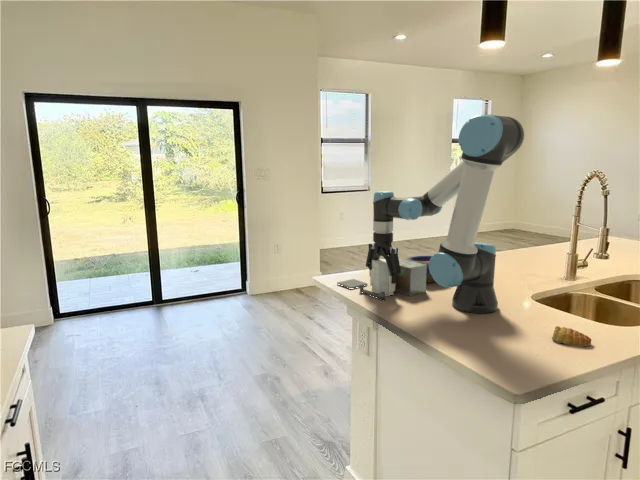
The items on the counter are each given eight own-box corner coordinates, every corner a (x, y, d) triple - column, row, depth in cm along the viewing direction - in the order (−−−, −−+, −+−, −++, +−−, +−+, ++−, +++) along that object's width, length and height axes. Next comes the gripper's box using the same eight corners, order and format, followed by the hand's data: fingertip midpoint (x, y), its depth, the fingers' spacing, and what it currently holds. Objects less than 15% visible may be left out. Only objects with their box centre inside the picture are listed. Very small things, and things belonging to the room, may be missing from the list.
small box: (393, 296, 162) (394, 263, 160) (378, 297, 161) (378, 264, 159) (386, 289, 170) (386, 258, 168) (371, 291, 169) (371, 259, 167)
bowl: (425, 272, 197) (425, 251, 195) (456, 280, 182) (457, 258, 180) (396, 278, 187) (396, 256, 186) (426, 287, 172) (427, 264, 171)
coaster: (367, 285, 176) (367, 283, 176) (350, 289, 171) (350, 287, 171) (353, 281, 184) (353, 278, 183) (337, 284, 178) (337, 282, 178)
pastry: (591, 342, 119) (592, 329, 119) (589, 350, 114) (591, 337, 113) (553, 334, 125) (555, 322, 124) (550, 342, 119) (551, 330, 119)
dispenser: (425, 291, 167) (426, 264, 165) (387, 302, 155) (387, 273, 153) (393, 281, 181) (393, 256, 180) (355, 291, 169) (355, 264, 167)
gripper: (411, 234, 155) (410, 293, 158) (370, 227, 172) (370, 280, 176) (397, 236, 150) (396, 296, 154) (356, 229, 168) (356, 283, 172)
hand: (382, 288), depth 165 cm, fingers closed on small box, 10 cm apart
